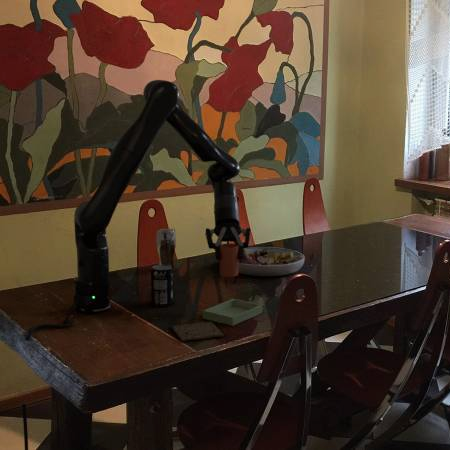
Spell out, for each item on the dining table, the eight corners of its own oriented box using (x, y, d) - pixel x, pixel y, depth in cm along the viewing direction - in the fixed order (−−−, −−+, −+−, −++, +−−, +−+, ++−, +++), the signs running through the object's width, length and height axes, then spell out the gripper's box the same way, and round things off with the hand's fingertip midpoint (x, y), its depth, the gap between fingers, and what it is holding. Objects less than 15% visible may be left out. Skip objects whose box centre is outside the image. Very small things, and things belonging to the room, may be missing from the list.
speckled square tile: (171, 327, 206) (170, 324, 205) (211, 323, 210) (211, 320, 210) (181, 341, 195) (181, 338, 195) (224, 336, 200) (224, 333, 199)
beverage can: (164, 299, 232) (164, 263, 230) (176, 304, 228) (176, 267, 225) (147, 303, 228) (146, 266, 225) (159, 308, 223) (158, 270, 221)
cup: (230, 278, 213) (231, 248, 212) (216, 274, 216) (216, 245, 214) (242, 273, 218) (242, 245, 216) (227, 271, 221) (227, 242, 219)
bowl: (258, 255, 294) (258, 236, 293) (319, 267, 278) (320, 247, 276) (208, 269, 270) (208, 249, 269) (272, 283, 254) (272, 262, 252)
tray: (232, 326, 209) (232, 317, 208) (202, 318, 215) (202, 310, 214) (262, 312, 222) (262, 304, 221) (233, 306, 227) (233, 298, 227)
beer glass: (179, 269, 269) (179, 230, 266) (167, 273, 264) (166, 233, 261) (166, 266, 273) (165, 227, 270) (153, 270, 267) (152, 230, 264)
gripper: (203, 205, 219) (206, 253, 210) (250, 205, 222) (255, 252, 213) (202, 219, 225) (205, 266, 216) (248, 219, 228) (252, 265, 219)
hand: (229, 258), depth 214 cm, fingers closed on cup, 5 cm apart
